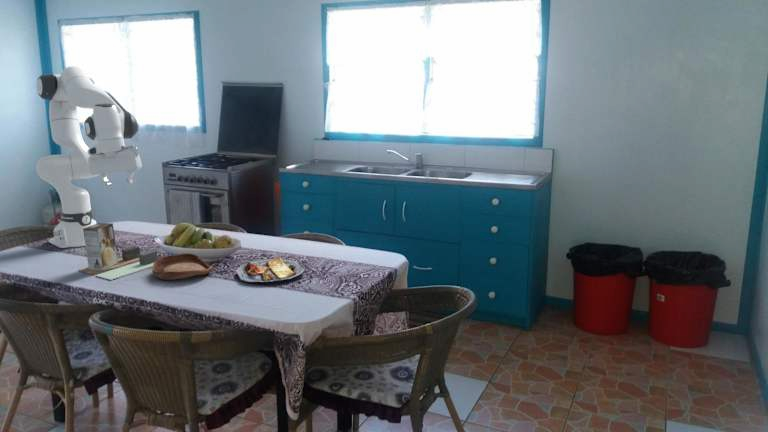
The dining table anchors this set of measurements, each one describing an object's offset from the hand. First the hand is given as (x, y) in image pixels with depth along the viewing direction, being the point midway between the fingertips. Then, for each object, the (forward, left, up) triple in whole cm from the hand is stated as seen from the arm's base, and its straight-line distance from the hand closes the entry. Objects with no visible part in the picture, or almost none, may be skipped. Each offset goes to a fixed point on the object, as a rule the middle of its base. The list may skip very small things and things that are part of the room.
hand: (118, 184), depth 226 cm
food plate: (+54, +20, -32) cm, 66 cm away
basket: (+26, +4, -32) cm, 42 cm away
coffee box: (-6, -6, -31) cm, 33 cm away
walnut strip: (-6, -3, -32) cm, 32 cm away
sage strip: (+5, -3, -32) cm, 32 cm away
